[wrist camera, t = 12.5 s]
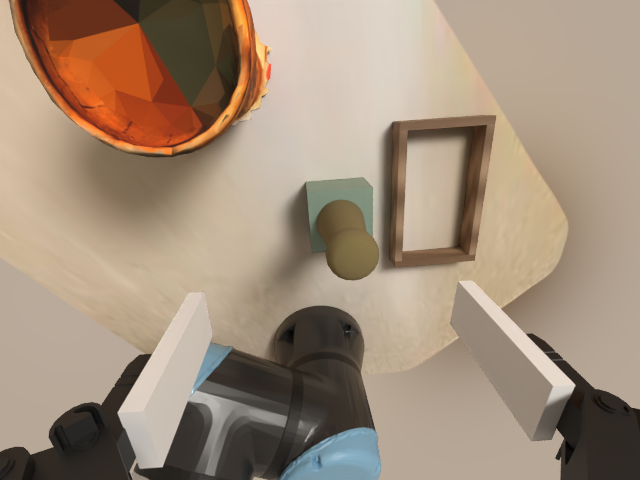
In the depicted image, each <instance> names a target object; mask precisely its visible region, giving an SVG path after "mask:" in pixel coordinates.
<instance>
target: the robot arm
mask: <svg viewBox="0 0 640 480" xmlns="http://www.w3.org/2000/svg"><path fill="white" fill-rule="evenodd" d="M450 324H451V326H452V327H453V329H454V330H455V331H456V333H457V334H458V336H459V337H460V339H461V340H462V341H463V343H464V344H465V346H466V347H467V349H468V350H469V351H470V353H471V354H472V356H473V358H474V359H475V360H476V362H477V363H478V365H479V366H480V368H481V369H482V371H483V372H484V373H485V375H486V376H487V378H488V379H489V381H490V382H491V384H492V385H493V386H494V388H495V389H496V391H497V392H498V394H499V395H500V397H501V398H502V400H503V401H504V402H505V404H506V405H507V407H508V408H509V410H510V411H511V412H512V414H513V415H514V417H515V418H516V420H517V421H518V423H519V424H520V426H521V427H522V428H523V430H524V431H525V433H526V434H527V436H528V437H529V439H530V440H531V441H542V440H551V439H552V437H553V435H554V433H555V430H556V428H557V429H558V431H559V432H560V433H561V434H562V436H563V437H564V440H563V442H562V444H561V447H560V449H559V451H558V453H557V455H556V459H557V460H560V457H561V480H640V409H635V408H631V407H630V406H629V405H628V404H627V403H626V402H624V401H623V400H621V399H620V398H619V397H617V396H615V395H613V394H611V393H609V392H606V391H602V390H599V389H594V388H593V387H592V386H591V385H590V384H589V383H588V382H587V381H586V380H585V379H584V378H583V377H582V376H581V375H580V374H579V373H577V371H575V370H574V369H573V368H572V367H571V366H570V365H569V364H568V363H567V362H566V361H564V360H563V358H562V357H561V356H560V355H559V354H558V353H555V351H554V349H553V348H552V347H550V346H549V345H548V344H547V343H546V342H545V341H544V340H542V339H540V338H539V337H537V336H535V335H534V334H525V333H524V332H523V331H522V330H521V329H520V328H519V327H518V326H517V325H516V324H515V323H514V322H513V321H512V320H511V319H510V318H509V317H508V316H507V315H506V314H505V313H504V312H503V311H502V310H501V309H500V308H499V307H498V306H497V305H496V304H495V303H494V302H493V301H492V300H491V299H490V298H489V297H488V296H487V295H486V294H485V293H484V292H483V291H482V290H481V289H480V288H479V287H478V286H477V285H476V284H475V283H474V282H473V281H458V285H457V290H456V295H455V300H454V305H453V311H452V316H451V321H450ZM212 336H213V334H212V329H211V324H210V319H209V314H208V308H207V303H206V298H205V293H204V292H192V293H188V295H187V297H186V298H185V300H184V302H183V303H182V305H181V307H180V308H179V310H178V312H177V313H176V315H175V317H174V319H173V320H172V322H171V324H170V325H169V327H168V329H167V330H166V332H165V334H164V335H163V337H162V339H161V340H160V342H159V344H158V345H157V347H156V349H155V351H154V352H153V354H144V355H139V356H138V357H136V358H135V359H134V360H133V361H132V362H131V363H130V364H129V365H128V366H127V367H126V369H125V370H124V372H123V373H122V375H121V378H119V379H118V381H117V383H116V384H115V387H113V388H112V390H111V392H110V393H109V394H108V396H107V397H106V399H105V400H104V402H103V403H102V405H100V404H98V403H93V402H91V403H84V404H81V405H78V406H76V407H73V408H72V409H70V410H69V411H67V412H65V413H64V414H63V415H62V416H61V417H59V418H58V419H57V420H56V421H55V422H54V424H53V426H52V427H51V429H50V431H49V439H50V441H51V443H52V444H53V446H54V447H53V448H50V449H47V450H44V451H41V452H38V453H35V454H32V455H30V454H29V452H28V451H27V450H26V449H25V448H24V447H13V448H9V449H5V450H3V451H1V452H0V480H132V477H131V474H130V472H129V471H130V469H131V467H132V465H133V463H134V460H135V458H136V461H137V464H136V466H135V468H134V470H133V473H132V476H133V479H134V480H253V478H254V477H259V478H263V479H268V480H378V478H379V476H380V471H381V461H380V455H379V449H378V436H377V433H376V431H375V427H374V423H373V419H372V415H371V412H370V407H369V404H368V400H367V396H366V392H365V388H364V384H363V380H362V376H361V368H362V362H363V356H364V339H363V336H362V332H361V329H360V327H359V325H358V323H357V322H356V320H355V319H354V318H353V317H352V316H351V315H349V314H348V313H346V312H344V311H342V310H340V309H337V308H334V307H329V306H313V307H308V308H305V309H302V310H299V311H297V312H295V313H293V314H292V315H290V316H289V317H288V318H287V319H286V320H285V321H284V322H283V323H282V324H281V326H280V327H279V329H278V331H277V334H276V338H275V349H274V351H275V358H276V362H277V363H275V362H272V361H268V360H265V359H262V358H259V357H256V356H253V355H250V354H247V353H244V352H241V351H238V350H235V349H233V347H232V346H228V347H226V346H223V345H219V344H215V343H211V342H210V341H211V338H212Z"/></svg>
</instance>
